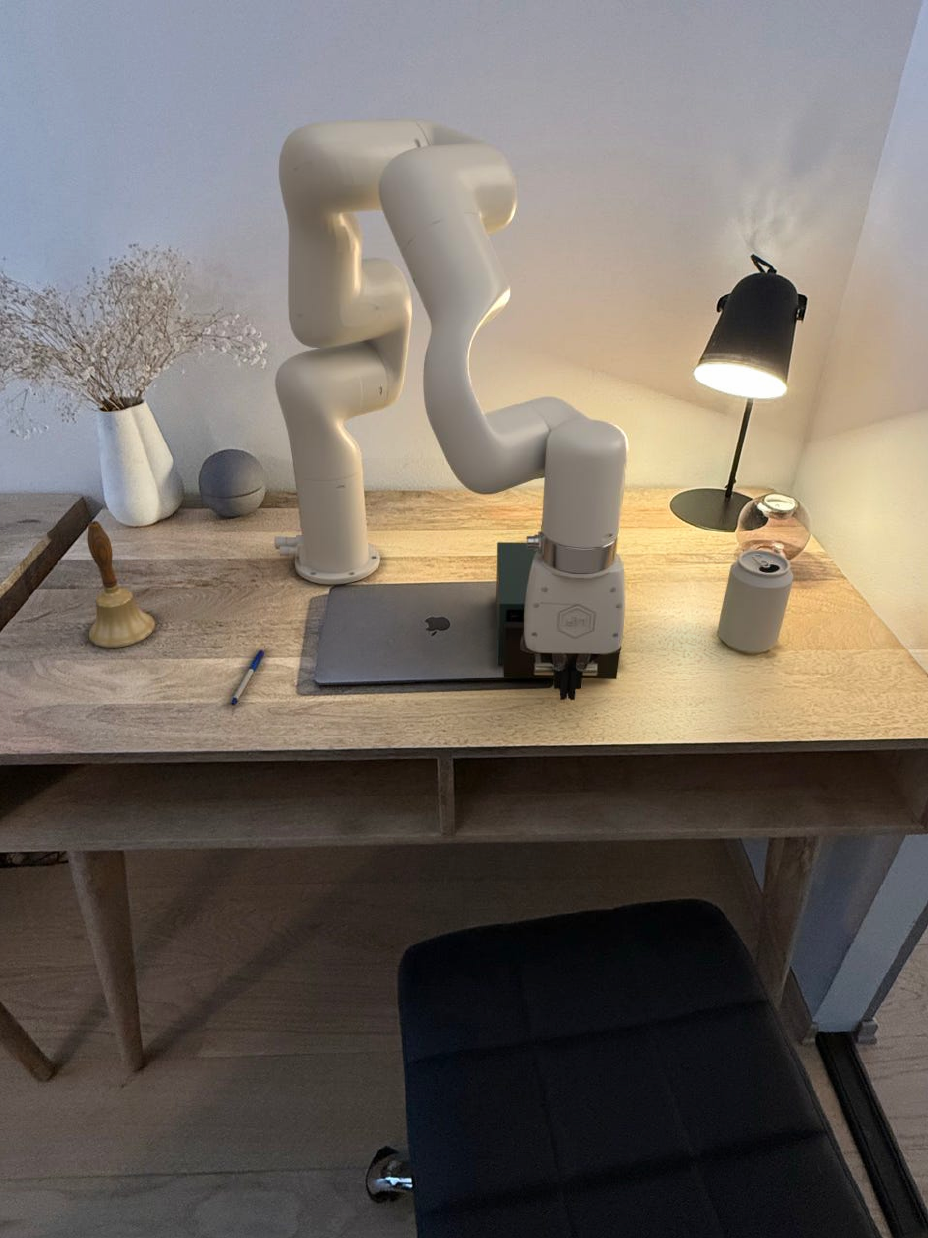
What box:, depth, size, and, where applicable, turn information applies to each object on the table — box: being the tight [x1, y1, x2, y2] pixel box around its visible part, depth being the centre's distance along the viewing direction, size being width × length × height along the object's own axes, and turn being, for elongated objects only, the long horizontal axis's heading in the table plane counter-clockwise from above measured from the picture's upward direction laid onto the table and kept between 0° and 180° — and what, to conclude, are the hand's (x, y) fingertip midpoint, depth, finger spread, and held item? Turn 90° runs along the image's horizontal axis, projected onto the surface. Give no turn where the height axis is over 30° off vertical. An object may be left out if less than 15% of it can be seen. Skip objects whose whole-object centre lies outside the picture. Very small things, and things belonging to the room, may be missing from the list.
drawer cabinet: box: [495, 541, 537, 667], centre depth 106 cm, size 15×15×9 cm
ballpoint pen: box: [230, 649, 265, 706], centre depth 100 cm, size 10×1×1 cm, turn 175°
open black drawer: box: [502, 610, 621, 680], centre depth 101 cm, size 19×14×7 cm
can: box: [717, 549, 794, 655], centre depth 104 cm, size 8×8×12 cm
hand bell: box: [86, 520, 156, 649], centre depth 105 cm, size 8×8×16 cm
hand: (566, 692), depth 92 cm, fingers closed
